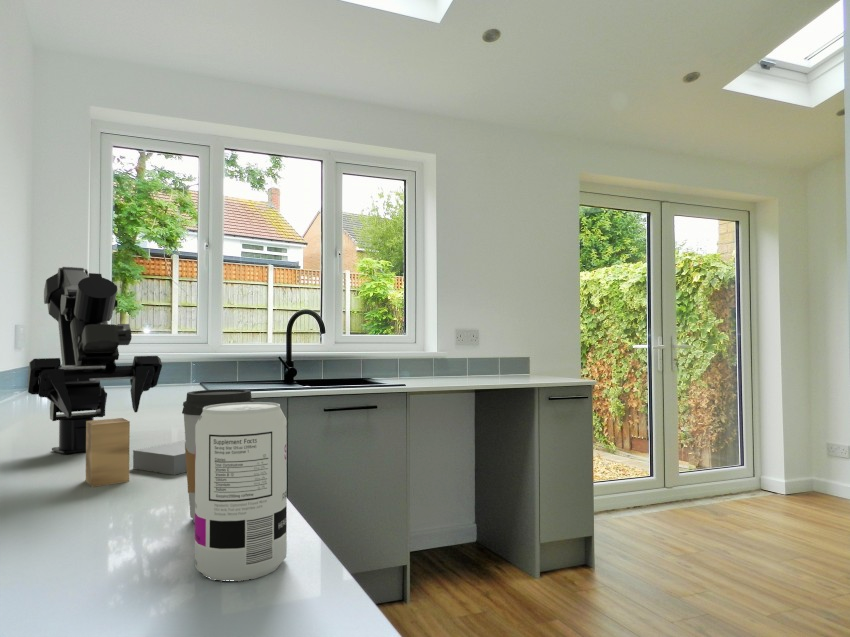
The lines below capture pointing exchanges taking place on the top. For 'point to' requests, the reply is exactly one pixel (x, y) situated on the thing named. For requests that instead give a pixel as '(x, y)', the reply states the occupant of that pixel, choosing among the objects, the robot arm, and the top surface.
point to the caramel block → (107, 451)
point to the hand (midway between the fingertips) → (104, 413)
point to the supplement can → (240, 490)
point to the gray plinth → (161, 458)
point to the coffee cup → (191, 416)
